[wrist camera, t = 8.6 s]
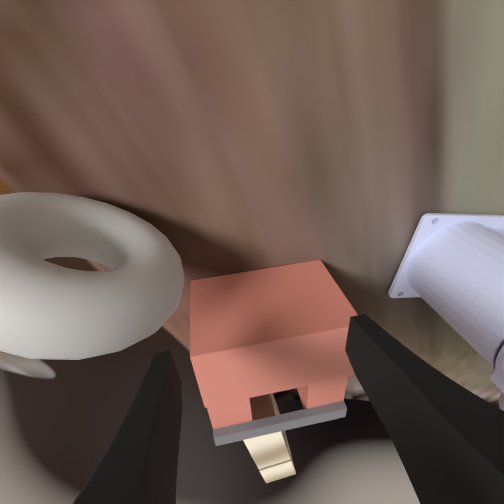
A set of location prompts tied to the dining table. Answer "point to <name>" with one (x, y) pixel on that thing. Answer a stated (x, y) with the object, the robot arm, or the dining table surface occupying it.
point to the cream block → (269, 443)
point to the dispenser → (270, 346)
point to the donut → (81, 277)
